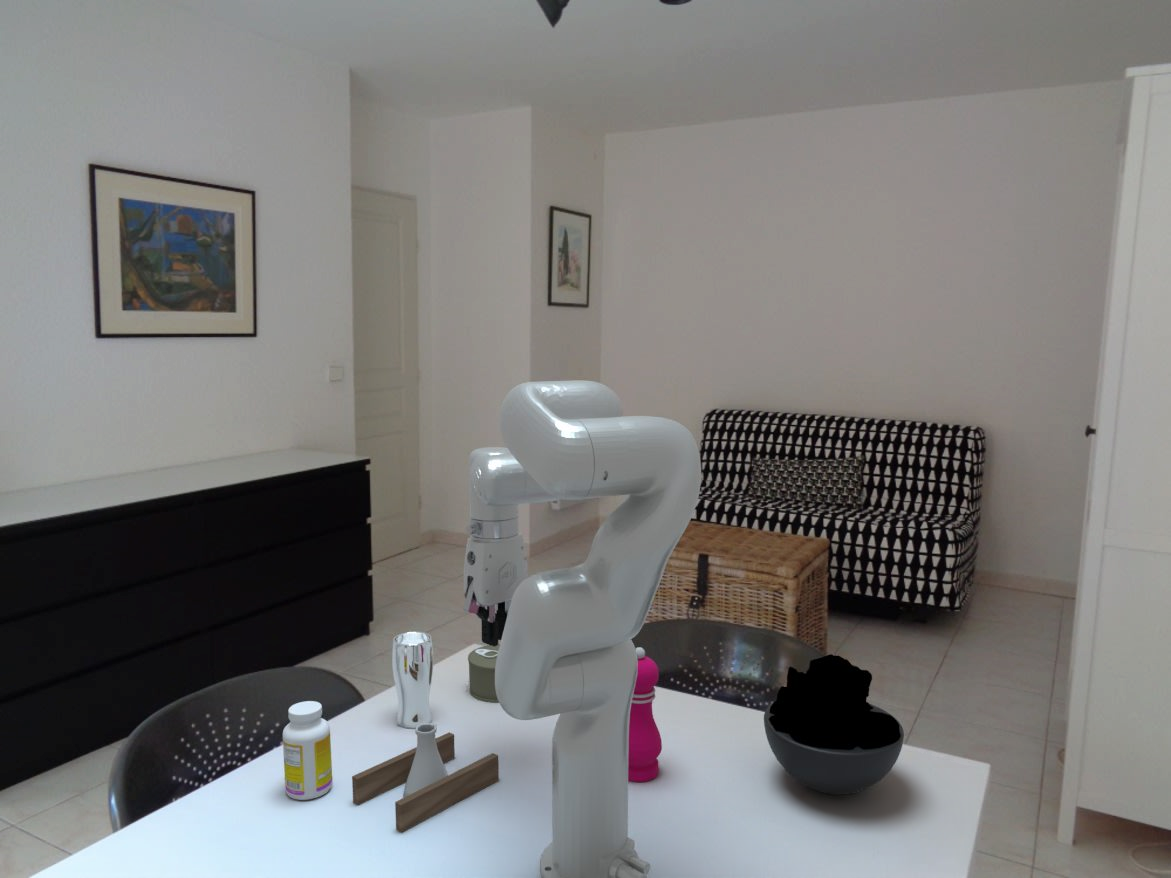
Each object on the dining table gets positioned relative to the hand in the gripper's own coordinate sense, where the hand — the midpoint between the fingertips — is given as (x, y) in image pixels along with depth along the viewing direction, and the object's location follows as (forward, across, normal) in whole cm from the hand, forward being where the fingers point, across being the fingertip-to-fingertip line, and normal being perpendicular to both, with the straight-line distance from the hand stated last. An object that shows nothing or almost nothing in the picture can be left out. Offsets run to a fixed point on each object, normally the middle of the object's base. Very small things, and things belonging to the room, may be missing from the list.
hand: (495, 641), depth 134 cm
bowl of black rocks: (+19, +27, -44) cm, 55 cm away
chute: (+19, -14, 0) cm, 24 cm away
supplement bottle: (+19, -25, +14) cm, 35 cm away
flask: (+19, -14, 0) cm, 24 cm away
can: (+19, +18, +18) cm, 32 cm away
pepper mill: (+19, +11, -20) cm, 30 cm away
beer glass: (+19, -1, +20) cm, 28 cm away
